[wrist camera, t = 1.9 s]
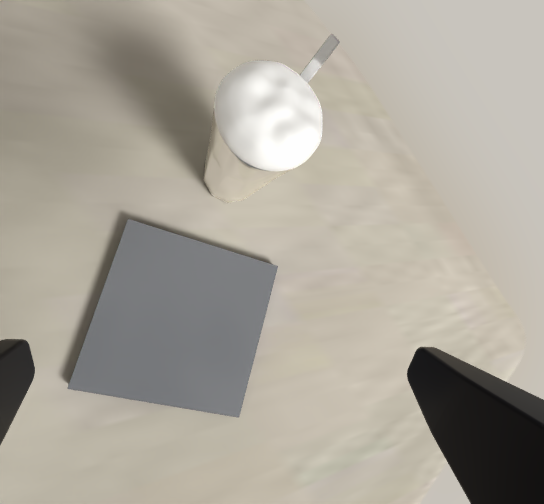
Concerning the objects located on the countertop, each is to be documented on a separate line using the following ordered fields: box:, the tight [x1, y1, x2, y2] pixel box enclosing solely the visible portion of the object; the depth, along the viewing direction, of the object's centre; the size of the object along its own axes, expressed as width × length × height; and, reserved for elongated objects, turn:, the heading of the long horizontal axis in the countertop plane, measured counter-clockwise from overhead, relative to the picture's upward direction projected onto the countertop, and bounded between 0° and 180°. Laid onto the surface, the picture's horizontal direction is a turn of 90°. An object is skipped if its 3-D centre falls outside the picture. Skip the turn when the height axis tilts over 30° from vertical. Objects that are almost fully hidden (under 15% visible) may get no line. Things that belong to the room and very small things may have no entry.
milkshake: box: [204, 34, 340, 203], centre depth 17 cm, size 4×5×10 cm
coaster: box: [67, 219, 278, 417], centre depth 19 cm, size 9×9×1 cm
